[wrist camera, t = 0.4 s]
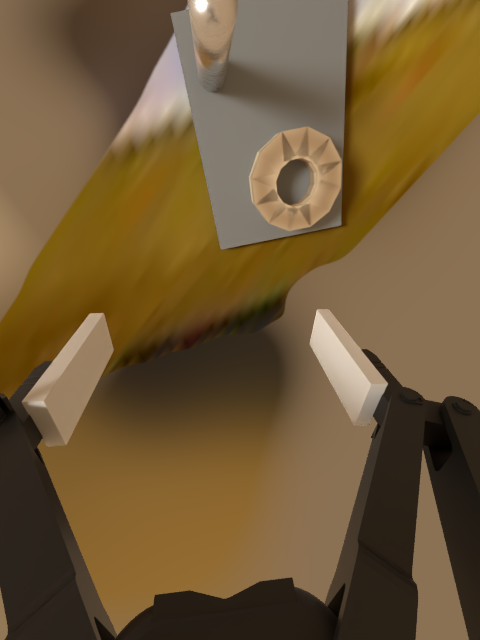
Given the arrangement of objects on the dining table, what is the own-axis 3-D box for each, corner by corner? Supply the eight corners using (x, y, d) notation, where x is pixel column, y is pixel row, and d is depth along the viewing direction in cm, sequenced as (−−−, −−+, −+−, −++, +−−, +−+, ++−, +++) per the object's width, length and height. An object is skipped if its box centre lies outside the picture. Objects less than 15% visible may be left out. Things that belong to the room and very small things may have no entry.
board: (172, 20, 27) (170, 13, 26) (342, -15, 27) (348, -24, 26) (220, 246, 40) (220, 249, 38) (336, 223, 40) (341, 225, 38)
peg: (194, 58, 28) (181, -33, 15) (222, 52, 28) (232, -44, 15) (201, 94, 29) (195, 40, 16) (227, 89, 29) (241, 31, 16)
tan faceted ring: (243, 140, 32) (246, 138, 29) (332, 122, 32) (343, 119, 29) (256, 232, 38) (259, 237, 35) (331, 216, 38) (340, 220, 35)
